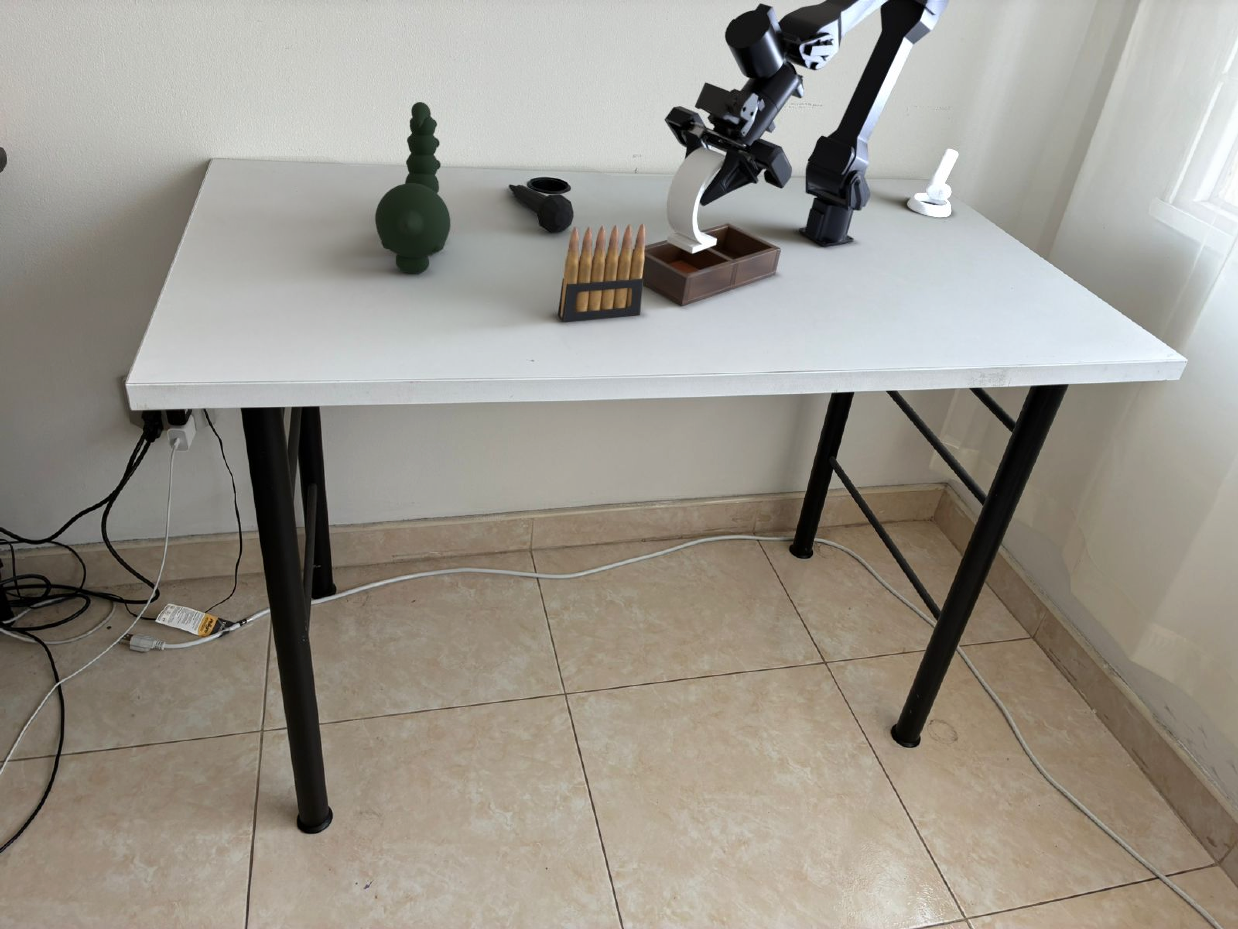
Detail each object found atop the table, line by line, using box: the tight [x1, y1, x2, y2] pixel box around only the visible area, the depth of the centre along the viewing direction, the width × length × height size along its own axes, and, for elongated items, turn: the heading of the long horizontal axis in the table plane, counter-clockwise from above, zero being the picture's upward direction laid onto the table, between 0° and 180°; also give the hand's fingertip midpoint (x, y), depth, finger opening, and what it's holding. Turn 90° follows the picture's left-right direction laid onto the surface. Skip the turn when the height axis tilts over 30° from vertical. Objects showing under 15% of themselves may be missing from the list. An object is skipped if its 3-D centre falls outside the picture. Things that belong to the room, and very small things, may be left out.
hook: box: [906, 148, 959, 218], centre depth 167 cm, size 8×12×7 cm
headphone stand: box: [666, 147, 726, 253], centre depth 124 cm, size 5×6×12 cm
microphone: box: [508, 184, 575, 234], centre depth 144 cm, size 6×6×20 cm
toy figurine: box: [374, 101, 451, 274], centre depth 124 cm, size 9×19×25 cm
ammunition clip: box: [557, 223, 646, 323], centre depth 117 cm, size 11×2×12 cm, turn 113°
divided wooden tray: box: [631, 222, 782, 307], centre depth 132 cm, size 20×10×4 cm, turn 133°
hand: (689, 198), depth 123 cm, fingers closed on headphone stand, 4 cm apart
